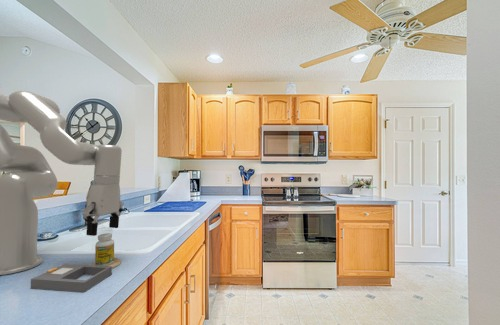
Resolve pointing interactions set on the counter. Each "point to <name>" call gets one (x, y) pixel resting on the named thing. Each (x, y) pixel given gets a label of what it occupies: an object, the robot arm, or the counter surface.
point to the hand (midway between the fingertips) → (103, 231)
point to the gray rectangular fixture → (71, 277)
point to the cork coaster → (114, 264)
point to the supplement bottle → (104, 250)
